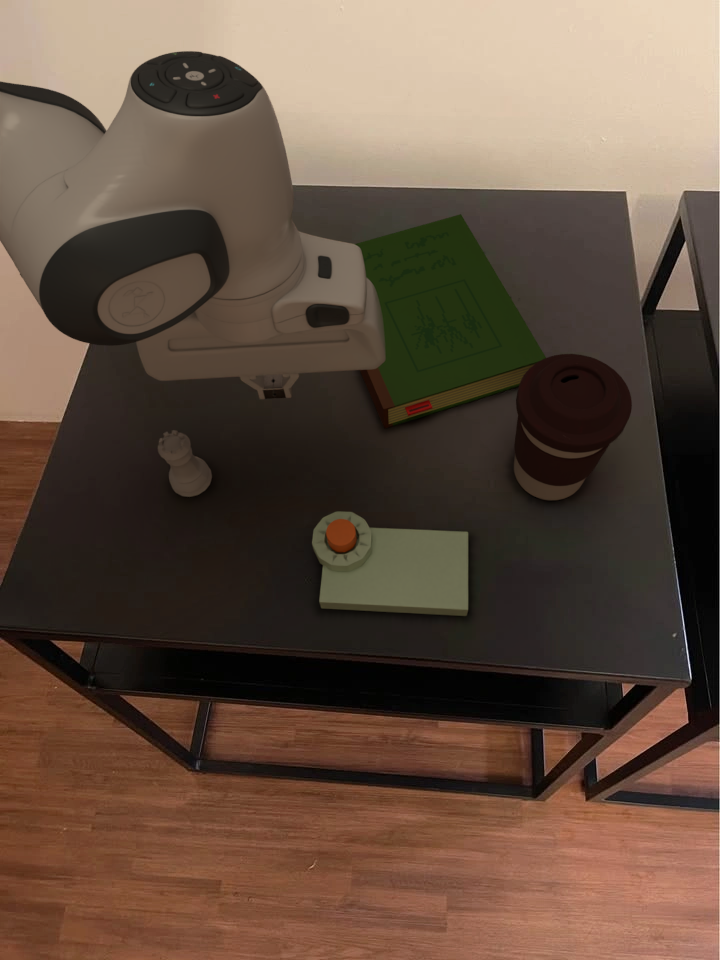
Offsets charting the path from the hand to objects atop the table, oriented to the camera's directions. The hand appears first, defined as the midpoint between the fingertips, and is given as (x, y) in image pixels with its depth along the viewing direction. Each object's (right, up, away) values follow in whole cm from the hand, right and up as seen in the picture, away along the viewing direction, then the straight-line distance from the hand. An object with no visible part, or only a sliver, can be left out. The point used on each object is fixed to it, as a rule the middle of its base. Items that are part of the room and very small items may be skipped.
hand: (276, 392), depth 65 cm
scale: (+11, -17, +5) cm, 21 cm away
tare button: (+6, -14, +4) cm, 16 cm away
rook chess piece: (-10, -8, +12) cm, 18 cm away
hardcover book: (+15, +10, +20) cm, 27 cm away
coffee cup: (+27, -7, +10) cm, 30 cm away
